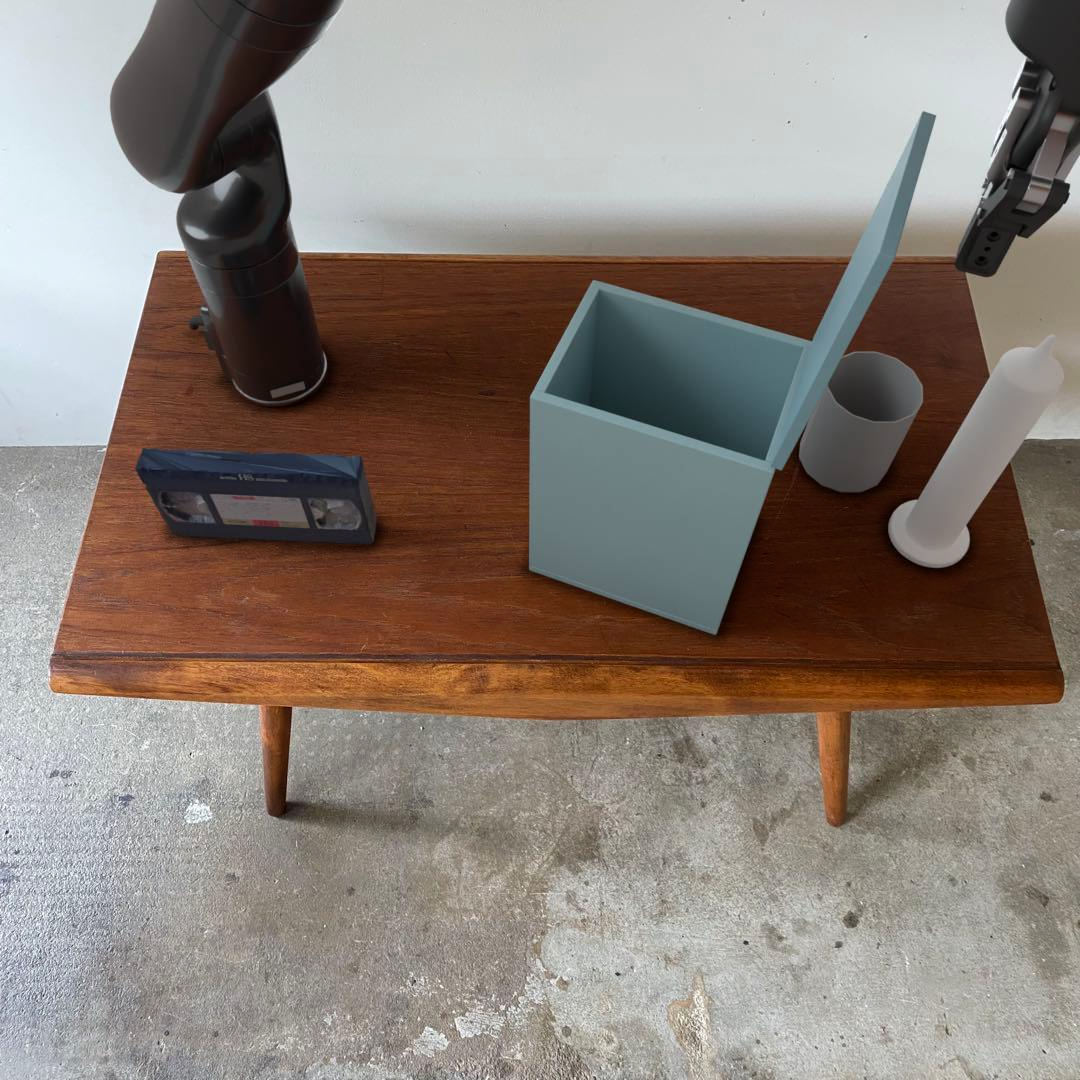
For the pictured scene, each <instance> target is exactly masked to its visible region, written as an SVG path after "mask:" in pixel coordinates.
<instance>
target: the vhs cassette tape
mask: <svg viewBox="0 0 1080 1080" xmlns="http://www.w3.org/2000/svg"><path fill="white" fill-rule="evenodd" d="M134 470H135V471H136V473H137V476H138V477H139V480H140V481H141V482H142V484H143V485H145V490H146V491H147V493H148V495H149V496H150V499H151V501H152V502H153V504H154V506H155V508H156V509H157V510H158V512H159V514H160V516H161V518H162V520H163V521H164V522H165V524H166V525H167V528H168V529H169V530H170V532H171V534H173V535H174V536H179V537H181V536H182V537H183V536H184V537H199V538H220V539H221V538H222V539H238V540H239V539H240V540H241V539H242V540H260V541H262V540H263V541H282V542H303V543H305V542H306V543H329V544H330V543H331V544H361V545H362V544H363V545H364V544H365V545H371V544H373V543H374V542H375V536H376V532H377V531H376V530H377V522H378V521H377V514H376V512H375V510H374V509H375V504H374V502H373V498H372V494H371V490H370V485H369V483H368V478H367V474H366V472H365V466H364V461H363V458H362V456H361V455H354V456H345V455H343V454H319V453H317V454H314V453H313V454H311V453H309V454H306V453H305V454H302V453H296V452H294V453H292V452H269V451H268V452H265V451H263V452H260V451H259V452H253V453H251V452H250V451H249V452H248V451H241V450H239V451H238V450H212V449H160V448H154V447H153V448H152V447H151V448H145V447H142V448H141V452H140V455H139V456H138V459H137V462H136V465H135V468H134Z"/></svg>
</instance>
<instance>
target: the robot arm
mask: <svg viewBox="0 0 1080 1080" xmlns="http://www.w3.org/2000/svg"><path fill="white" fill-rule="evenodd" d="M346 2H347V0H154V3H153V6H152V9H151V11H150V14H149V17H148V20H147V22H146V25H145V28H144V29H143V32H142V34H141V36H140V37H139V39H138V41H137V43H136V44H135V46H134V48H133V50H132V51H131V52H130V55H129V56H128V58H127V59H126V61H125V63H124V65H123V66H122V67H121V68H120V70H119V72H118V74H117V75H116V76H115V79H114V81H113V83H112V86H111V89H110V94H109V111H110V113H109V114H110V118H111V125H112V127H113V132H114V135H115V138H116V141H117V142H118V145H119V147H120V149H121V151H122V152H123V154H124V156H125V158H126V159H127V161H128V162H129V164H130V166H131V167H132V168H133V169H134V170H135V171H136V172H137V173H138V174H139V175H140V176H141V177H142V178H144V179H145V180H146V181H147V182H149V183H150V184H151V185H153V186H154V187H156V188H157V189H160V190H163V191H166V192H169V193H173V194H179V195H181V194H183V196H182V198H181V199H180V202H179V204H178V207H177V209H176V216H175V222H176V227H177V231H178V234H179V235H178V236H179V237H180V240H181V243H182V246H183V248H184V251H185V253H186V255H187V258H188V261H189V263H190V266H191V269H192V272H193V274H194V277H195V279H196V282H197V285H198V287H199V291H200V293H201V295H202V298H203V301H204V302H203V304H202V305H201V306H200V308H199V313H200V315H193V316H192V317H190V318H189V322H188V327H189V329H190V330H192V331H197V330H198V329H199V326H203V327H202V328H201V332H202V335H203V338H204V340H205V342H206V345H207V348H208V350H210V351H212V352H214V353H215V355H216V357H217V360H218V362H219V365H220V367H221V370H222V373H223V376H224V378H225V381H227V382H230V383H232V384H233V386H234V388H235V390H236V391H237V393H238V394H239V395H240V396H241V397H242V398H243V399H244V400H246V401H248V402H249V403H252V404H254V405H257V406H262V407H268V408H279V407H281V408H282V407H286V406H291V405H295V404H298V403H300V402H302V401H304V400H306V399H308V398H309V397H311V396H312V395H314V394H315V393H316V392H317V391H318V390H319V389H320V388H321V387H322V385H323V384H324V383H325V380H326V377H327V375H328V361H327V357H326V354H325V352H324V350H323V345H322V340H321V337H320V332H319V328H318V325H317V324H318V323H317V320H316V317H315V312H314V309H313V304H312V301H311V297H310V291H309V289H308V284H307V280H306V276H305V273H304V269H303V268H304V267H303V264H302V260H301V255H300V252H299V249H298V245H297V240H296V237H295V233H294V229H293V224H292V220H291V211H292V207H293V195H292V189H291V182H290V178H289V173H288V167H287V162H286V161H287V160H286V156H285V149H284V143H283V137H282V133H281V132H282V131H281V127H280V123H279V118H278V114H277V111H276V107H275V103H274V99H273V97H272V93H271V92H270V88H271V87H272V86H273V85H275V84H276V83H277V82H278V81H279V80H280V79H282V78H283V77H284V76H285V75H286V74H288V73H289V72H290V71H291V70H292V69H293V68H294V67H295V66H296V65H298V63H300V62H301V61H302V60H303V59H304V58H305V57H306V56H307V55H308V54H309V53H311V51H312V50H313V49H314V48H315V46H316V45H317V44H318V43H319V42H320V40H321V39H322V38H323V36H324V35H325V33H326V32H327V31H328V29H329V28H330V26H331V25H332V23H333V21H334V20H335V19H336V17H337V16H338V14H339V12H340V11H341V9H342V8H343V7H344V5H345V4H346ZM1004 21H1005V22H1004V23H1005V30H1006V33H1007V35H1008V37H1009V39H1010V41H1011V43H1012V44H1013V45H1014V46H1015V48H1016V49H1017V50H1018V51H1019V52H1020V53H1021V54H1022V55H1023V56H1024V57H1025V58H1024V59H1023V61H1022V63H1021V65H1020V67H1019V70H1018V72H1017V74H1016V77H1015V79H1014V82H1013V86H1012V92H1011V101H1010V103H1009V105H1008V107H1007V110H1006V112H1005V114H1004V116H1003V118H1002V120H1001V123H1000V124H999V127H998V129H997V131H996V134H995V136H994V142H993V146H992V151H991V153H990V161H989V164H988V168H987V173H986V177H985V178H984V179H983V181H982V184H981V186H980V187H981V189H982V190H981V194H980V195H981V197H980V198H979V200H978V202H977V204H976V205H977V206H976V209H975V211H974V212H973V216H972V218H971V219H970V221H969V224H968V225H967V228H966V230H965V232H964V234H963V235H962V238H961V240H960V243H959V245H958V246H957V252H956V256H955V260H954V267H955V269H956V270H957V271H959V272H963V273H966V274H970V275H974V276H978V277H981V278H982V277H983V278H990V277H994V276H995V275H996V274H997V272H998V270H999V269H1000V266H1001V265H1002V263H1003V261H1004V259H1005V257H1006V256H1007V254H1008V252H1009V250H1010V248H1011V246H1012V244H1013V243H1014V240H1015V239H1016V237H1019V238H1023V239H1029V238H1030V237H1031V236H1032V235H1034V234H1035V233H1036V232H1037V231H1038V230H1040V228H1042V227H1043V226H1044V225H1045V224H1046V223H1047V222H1049V220H1051V219H1052V218H1053V217H1054V216H1055V215H1056V214H1058V212H1060V210H1061V209H1062V208H1063V206H1064V205H1066V204H1067V203H1068V200H1069V198H1070V195H1071V192H1070V189H1071V183H1069V182H1066V179H1068V176H1069V174H1070V173H1071V171H1072V169H1073V167H1074V166H1075V164H1076V162H1077V160H1078V159H1079V157H1080V0H1009V3H1008V6H1007V8H1006V11H1005V17H1004Z"/></svg>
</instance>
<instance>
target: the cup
mask: <svg viewBox="0 0 1080 1080" xmlns="http://www.w3.org/2000/svg"><path fill="white" fill-rule="evenodd" d="M923 403H924V385H923V384H922V382H921V380H920V379H919V377H918V376H917V374H916V372H915V371H914V370H913V368H910V367H909V366H908V365H907V364H905V363H904V362H902V361H901V360H900V359H898V358H897V357H894V356H892V355H888V354H885V353H882V352H878V351H852V352H850V353H848V354H845V355H843V356H842V358H841V360H840V362H839V364H838V366H837V368H836V370H835V371H834V373H833V375H832V377H831V379H830V381H829V383H828V385H827V386H826V388H825V390H824V392H823V394H822V396H821V398H820V400H819V402H818V403H817V405H816V407H815V409H814V411H813V413H812V415H811V417H810V418H809V420H808V422H807V424H806V426H805V428H804V430H803V431H804V432H803V434H802V437H801V440H800V443H799V452H798V453H799V454H798V458H799V461H800V462H801V464H802V467H803V468H804V471H805V473H806V474H807V475H808V476H810V477H811V478H812V479H813V480H815V482H817V483H818V484H819V485H821V486H823V487H825V488H828V489H831V490H833V491H836V492H839V493H863V492H865V491H867V490H870V489H872V488H874V487H876V486H878V485H879V483H881V481H882V479H883V478H884V477H885V475H886V474H887V473H888V470H889V468H890V466H891V464H892V462H893V461H894V459H895V457H896V455H897V453H898V451H899V449H900V447H901V446H902V443H903V442H904V440H905V437H906V436H907V434H908V432H909V430H910V428H911V426H912V424H913V422H914V420H915V418H916V417H917V414H918V413H919V410H920V409H921V406H922V405H923Z"/></svg>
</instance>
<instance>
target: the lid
mask: <svg viewBox="0 0 1080 1080" xmlns="http://www.w3.org/2000/svg"><path fill="white" fill-rule="evenodd" d="M936 119H937V115H936V114H934V113H930V112H927V111H924V110H923V111H922V112H921V113H920V115H919V118H918V119H917V122H916V124H915V126H914V128H913V130H912V132H911V134H910V136H909V138H908V141H907V142H906V145H905V147H904V148H903V151H902V153H901V155H900V156H899V159H898V161H897V163H896V165H895V168H894V169H893V172H892V174H891V176H890V178H889V179H888V182H887V183H886V186H885V188H884V190H883V192H882V194H881V196H880V198H879V200H878V202H877V205H876V207H875V209H874V211H873V213H872V215H871V217H870V219H869V222H868V223H867V226H866V228H865V230H864V232H863V234H862V236H861V238H860V240H859V242H858V244H857V246H856V248H855V250H854V253H853V254H852V257H851V259H850V261H849V263H848V265H847V267H846V269H845V271H844V272H843V275H842V277H841V279H840V281H839V283H838V286H837V288H836V290H835V292H834V294H833V295H832V298H831V300H830V302H829V304H828V306H827V309H826V310H825V312H824V315H823V316H822V318H821V320H820V323H819V325H818V327H817V329H816V331H815V333H814V335H813V338H812V340H811V341H812V344H811V347H810V350H809V353H808V356H807V358H806V361H805V364H804V367H803V370H802V373H801V376H800V379H799V382H798V385H797V388H796V391H795V394H794V397H793V400H792V403H791V406H790V409H789V412H788V415H787V418H786V420H785V423H784V426H783V429H782V432H781V435H780V438H779V441H778V444H777V447H776V450H775V453H774V456H773V459H772V462H771V465H770V467H773V468H776V469H775V470H779V471H783V469H784V467H785V466H786V463H788V460H789V458H790V457H791V454H792V453H793V450H794V448H795V446H796V445H797V443H798V441H799V439H800V437H801V435H802V433H804V432H803V431H805V429H806V426H807V423H808V421H809V418H810V417H811V415H812V413H813V411H814V409H815V407H816V405H817V403H818V402H819V400H820V398H821V396H822V394H823V392H824V390H825V388H826V386H827V385H828V383H829V381H830V379H831V377H832V375H833V373H834V371H835V370H836V368H837V366H838V364H839V362H840V360H841V358H842V356H845V355H844V354H845V353H846V351H847V349H848V347H849V345H850V343H851V341H852V340H853V337H854V335H855V334H856V332H857V330H858V328H859V327H860V324H861V322H862V320H863V319H864V317H865V315H866V313H867V311H868V309H869V308H870V306H871V304H872V302H873V300H874V298H875V297H876V294H877V292H878V291H879V289H880V287H881V285H882V283H883V281H884V280H885V278H886V275H887V274H888V272H889V271H890V268H891V267H892V264H893V262H894V261H895V259H896V255H897V252H898V249H899V246H900V242H901V239H902V235H903V231H904V228H905V225H906V221H907V217H908V215H909V211H910V208H911V206H912V205H911V204H912V201H913V198H914V194H915V191H916V187H917V183H918V181H919V177H920V174H921V170H922V167H923V164H924V160H925V156H926V153H927V150H928V146H929V143H930V140H931V136H932V133H933V129H934V126H935V122H936Z"/></svg>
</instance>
